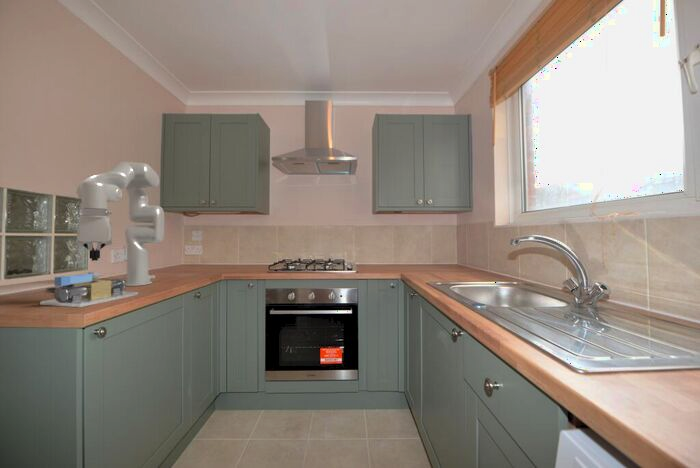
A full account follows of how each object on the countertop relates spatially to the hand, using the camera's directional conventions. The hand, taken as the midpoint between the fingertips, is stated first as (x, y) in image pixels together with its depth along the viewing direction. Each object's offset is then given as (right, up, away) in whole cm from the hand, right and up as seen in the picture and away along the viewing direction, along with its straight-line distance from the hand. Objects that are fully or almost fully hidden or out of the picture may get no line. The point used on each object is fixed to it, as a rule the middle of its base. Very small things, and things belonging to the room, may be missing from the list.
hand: (94, 260), depth 118 cm
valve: (-26, -17, +20) cm, 37 cm away
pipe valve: (-4, -16, +4) cm, 17 cm away
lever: (-5, -9, -1) cm, 10 cm away
